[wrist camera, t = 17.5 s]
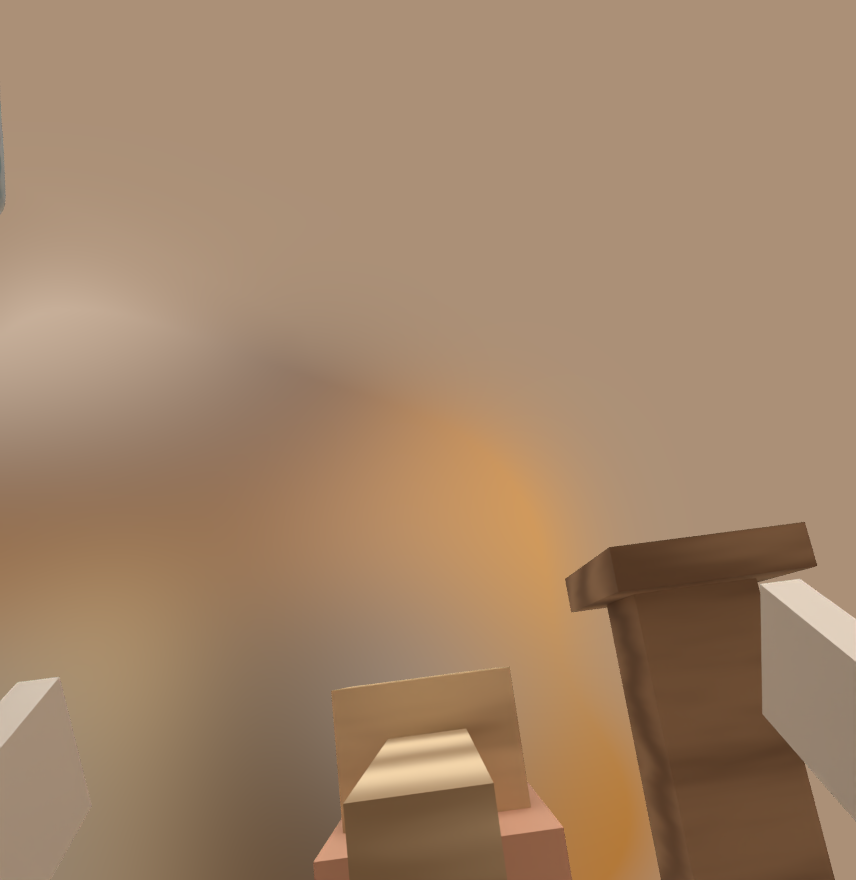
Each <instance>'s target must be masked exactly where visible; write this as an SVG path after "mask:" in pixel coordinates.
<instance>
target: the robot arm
mask: <svg viewBox="0 0 856 880" xmlns="http://www.w3.org/2000/svg"><path fill="white" fill-rule="evenodd" d="M4 174H5V172H4V151H3V134H2V123H1V104H0V214H1V212H2V211H3V209H4V206H5V175H4ZM760 601H761V662H762V714H763V715H764V716H765V718H766V719H767V720H768V721H769V722H770V723H771V724H772V726H773V727H774V728H775V729H776V730H777V731H778V733H779V734H780V735H781V736H782V737H783V738H784V739H785V741H786V742H787V743H788V744H789V745H790V746H791V748H792V749H793V750H794V751H795V752H796V753H797V754H798V756H799V757H800V758H801V759H802V760H803V761H804V762H805V764H806V765H807V766H808V767H809V768H810V769H811V771H813V773H814V774H815V775H816V776H817V777H818V779H819V780H820V781H821V782H822V783H823V784H824V785H825V787H826V788H827V789H828V790H829V791H830V792H831V794H832V795H833V796H834V797H835V798H836V799H837V800H838V802H839V803H840V804H841V805H842V806H843V807H844V809H845V810H846V811H847V812H848V813H849V814H850V815H851V817H852V818H853V819H854V820H855V821H856V619H855V618H854V617H852V616H851V615H849V614H848V613H847V612H845V611H844V610H842V609H841V608H840V607H838V606H837V605H835V604H834V603H833V602H831V601H830V600H828V599H827V598H826V597H824V596H823V595H822V594H820V593H819V592H817V591H816V590H814V589H813V588H812V587H810V586H809V585H808V584H806V583H805V582H803V581H802V580H801V579H796V580H788V581H781V582H773V583H766V584H760ZM91 807H92V805H91V801H90V797H89V793H88V789H87V785H86V781H85V777H84V773H83V769H82V765H81V761H80V757H79V753H78V749H77V745H76V741H75V737H74V733H73V729H72V725H71V721H70V717H69V713H68V709H67V705H66V701H65V697H64V693H63V689H62V685H61V681H60V677H54V678H47V679H39V680H31V681H24V682H17V683H16V684H15V686H14V687H13V688H12V689H11V690H10V691H9V692H8V693H7V694H6V695H5V696H4V698H3V699H2V700H1V701H0V880H51V878H52V876H53V874H54V872H55V871H56V869H57V867H58V865H59V864H60V862H61V860H62V858H63V856H64V855H65V853H66V851H67V849H68V848H69V846H70V844H71V842H72V841H73V839H74V837H75V835H76V833H77V831H78V830H79V828H80V826H81V824H82V823H83V821H84V819H85V817H86V816H87V814H88V812H89V810H90V809H91Z"/></svg>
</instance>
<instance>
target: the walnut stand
mask: <svg viewBox="0 0 856 880" xmlns="http://www.w3.org/2000/svg"><path fill="white" fill-rule="evenodd" d="M815 566H817V563H816V560H815V556H814V553H813V549H812V546H811V543H810V539H809V535H808V532H807V528H806V525H805V522H801V523H793V524H786V525H778V526H770V527H762V528H755V529H747V530H740V531H732V532H724V533H716V534H709V535H701V536H693V537H686V538H678V539H670V540H662V541H655V542H647V543H639V544H631V545H624V546H616V547H609V548H608V549H606V550H605V551H604V552H602V553H601V554H599V555H598V556H597V557H595V558H594V559H592V560H591V561H590V562H588V563H587V564H585V565H584V566H583V567H581V568H580V569H578V570H577V571H576V572H574V573H573V574H571V575H570V576H569V577H567V578H566V579H565V580H566V586H567V591H568V596H569V602H570V608H571V612H577V611H585V610H592V609H600V608H606V607H607V608H608V613H609V618H610V622H611V628H612V633H613V638H614V643H615V648H616V653H617V658H618V663H619V668H620V674H621V678H622V683H623V689H624V694H625V699H626V704H627V709H628V714H629V719H630V724H631V729H632V734H633V739H634V744H635V749H636V755H637V760H638V765H639V770H640V775H641V780H642V784H643V790H644V795H645V800H646V806H647V811H648V816H649V821H650V826H651V830H652V836H653V840H654V846H655V851H656V856H657V861H658V866H659V872H660V877H661V880H835V879H834V875H833V871H832V867H831V863H830V859H829V855H828V852H827V848H826V844H825V840H824V837H823V832H822V829H821V825H820V821H819V817H818V814H817V809H816V806H815V802H814V798H813V794H812V790H811V786H810V782H809V779H808V775H807V771H806V767H805V763H804V761H803V760H802V759H801V758H800V757H799V756H798V754H797V753H796V752H795V751H794V750H793V749H792V748H791V746H790V745H789V744H788V743H787V742H786V741H785V739H784V738H783V737H782V736H781V735H780V734H779V733H778V731H777V730H776V729H775V728H774V727H773V726H772V724H771V723H770V722H769V721H768V720H767V719H766V718H765V716H764V715H763V714H762V662H761V601H760V591H759V587H758V583H757V582H760V581H764V580H768V579H771V578H775V577H779V576H782V575H786V574H790V573H793V572H797V571H800V570H804V569H808V568H812V567H815Z"/></svg>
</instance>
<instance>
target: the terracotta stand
mask: <svg viewBox="0 0 856 880" xmlns="http://www.w3.org/2000/svg"><path fill="white" fill-rule="evenodd" d="M527 784H528V791H529V797H530V804H531V807H530V808H523V809H516V810H509V811H502V812H498V818H499V825H500V832H501V839H502V846H503V853H504V860H505V867H506V874H507V880H572V877H571V871H570V865H569V859H568V853H567V846H566V840H565V834H564V828H563V826H562V825H561V824H560V823H559V821H558V820H557V819H556V818H555V816H554V815H553V814H552V813H551V811H550V810H549V809H548V807H547V806H546V805H545V804H544V802H543V801H542V800H541V798H540V797H539V796H538V795H537V793H536V792H535V791H534V790H533V788H532V787H531V786H530V784H529V783H528V782H527ZM313 864H314V879H315V880H349V869H348V856H347V844H346V833H343V828H342V819H341V821H340V822H339V824H338V825H337V827H336V828H335V830H334V831H333V833H332V834H331V836H330V837H329V839H328V841H327V842H326V844H325V845H324V847H323V848H322V850H321V851H320V853H319V854H318V856H317V858H316V859H315V861H314V862H313Z"/></svg>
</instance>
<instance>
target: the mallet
mask: <svg viewBox="0 0 856 880" xmlns="http://www.w3.org/2000/svg"><path fill="white" fill-rule="evenodd" d="M331 694H332V706H333V718H334V730H335V742H336V755H337V767H338V779H339V791H340V803H341V815H342V828H343V833H346V844H347V856H348V869H349V880H507V874H506V867H505V860H504V853H503V846H502V839H501V832H500V825H499V818H498V812H502V811H509V810H516V809H523V808H530V807H531V804H530V797H529V791H528V784H527V778H526V771H525V765H524V758H523V752H522V745H521V739H520V732H519V726H518V719H517V713H516V706H515V700H514V694H513V686H512V680H511V674H510V668H509V667H498V668H490V669H482V670H475V671H467V672H460V673H452V674H445V675H437V676H430V677H423V678H415V679H407V680H400V681H392V682H385V683H378V684H370V685H362V686H355V687H348V688H343V689H338V690H333V691H331Z"/></svg>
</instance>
